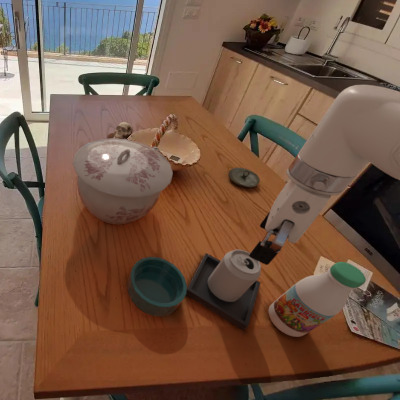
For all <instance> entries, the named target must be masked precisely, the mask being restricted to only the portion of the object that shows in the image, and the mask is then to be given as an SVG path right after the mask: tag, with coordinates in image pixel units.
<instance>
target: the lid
mask: <svg viewBox="0 0 400 400" xmlns="http://www.w3.org/2000/svg"><path fill="white" fill-rule="evenodd" d="M228 177H229V179H230V181H231V182H233V184H235V185H237V186H239V187H243V188H255V187H257V186H258V185H259V184H260V181H261V179H260V176H259V175H258V174H257V173H256V172H254V171H252V170H251V169H248V168H244V167H232V168H231V169H229V171H228Z"/></svg>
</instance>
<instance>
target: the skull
mask: <svg viewBox="0 0 400 400" xmlns="http://www.w3.org/2000/svg"><path fill="white" fill-rule="evenodd" d="M133 130H134V127H133V126H132V125H131V124H130V123H129V122H127V121H122V122H120V123H119V124H118V125H116V127H115V130H114V132H110V133H108V135H107V138H106V139H110V138H118V139H127V138H128V137H129V136H130V135H131V134H132V135H133V133H134V131H133ZM132 135H131V136H132Z"/></svg>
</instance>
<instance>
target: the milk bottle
mask: <svg viewBox="0 0 400 400" xmlns="http://www.w3.org/2000/svg"><path fill="white" fill-rule="evenodd" d="M366 281H367V278H366V276H365V275H364V273H363V271H361V270H360V269H359V268H358V267H357V266H355V265H353V264H351V263H350V262H346V261H338V262H335V263H334V264H333V265H331V266H330V267H328V269H327V271H325V272H323V273H318V274H313V275H309V276H308V275H307V276H306V277H304V278H302V279H300V280H299V281H297V282H296V283H295V284H293V285H292V286H291V287H289V288H288V289H287V290H286V291H285V292H284V293H282V294H281V295H280V296H279V297H278V298H276V300H274V302H272V303H271V304H270V305H269V306H268V316H269V319H270V321H271V323H272V324H273V325H274V326H275V327H276V328H277V329H278V330H279V331H280V332H282V333H283V334H285V335H287V336H289V337H295V338H296V337H297V338H299V337H303V336H305V335H306V334H308V333H310V332H311V331H313V330H314V329H316V328H318V327H320V326H321V325H323V324H324V323H326V322H328V321H329V320H330V319H332V318H334V317H335V316H336V315H338V314H339V313H340V312H341V311H343V309H344V308H345V307H346V304H347V302H348V298H349V295H350V293H351V291H354V290H355V291H356V290H357V289H359V288H360V287H361V286H363V285H364V284H365V283H366Z"/></svg>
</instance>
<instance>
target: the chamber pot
mask: <svg viewBox="0 0 400 400" xmlns="http://www.w3.org/2000/svg"><path fill="white" fill-rule="evenodd" d="M72 166H73V168H74V171H75V173H76V175H77V178H76V179H77V180H76V187H77V192H78V195H79V196H78V197H79V199H80V202H81V203H82V205H83V206H84V207H85V209H87V211H88V212H89V213H90V214H91V215H92V216H93V217H94V218H96V219H98V220H99V221H101V222H104V223H107V224H110V225H118V226H119V225H127V224H131V223H133V222H135V221H136V222H137V221H138V220H139V219H142V218H144V217H145V216H147V215H148V214H149V213H150V212H151V211H152V210H153V209H154V207H155V206H156V204H157V203H158V201H159V199H160V196H161V193H162V192H163V191H164V190H165V189H166V188H167V187H168V186H169V185H170V184H171V182H172V178H173V174H174V173H173V169H172V166H171V163H170V162H169V160H167V158H166V157H165V156H164V155H163V153H161V150H160V148H159V147H157V146H155V145H154V146H153V147H152V146H149V145H147V144H145V143H143V142H141V141H136V140H135V141H132V140H128V139H118V138H110V139H108V138H100V139H96V140H93V141H90V142H88V143H86V144H84V145H83V146H81V147H79V149H78V150H77V151H76V152H75V153H74V155H73V161H72Z"/></svg>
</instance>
